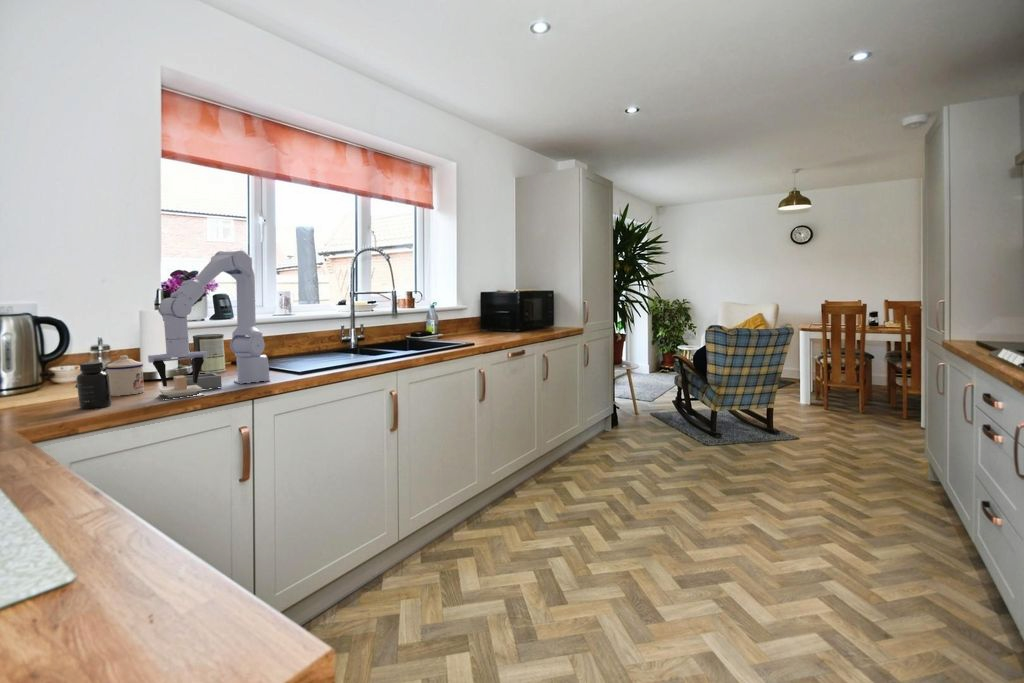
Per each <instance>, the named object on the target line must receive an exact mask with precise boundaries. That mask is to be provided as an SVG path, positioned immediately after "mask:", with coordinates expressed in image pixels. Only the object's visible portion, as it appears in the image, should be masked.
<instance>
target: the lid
mask: <svg viewBox="0 0 1024 683" xmlns="http://www.w3.org/2000/svg"><path fill="white" fill-rule="evenodd" d="M185 376H186V375H184V374H183V375H174V376H172V378H173V386H172V387H164V388H159V390H158V392H160V394H163V395H166V396H167V397H176V396H185V395H193V394H197V391H199V392H202V391H203V390H202V388H201V387H199V386H198V385H189V386H187V381H186V377H185Z"/></svg>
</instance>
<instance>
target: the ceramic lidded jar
mask: <svg viewBox="0 0 1024 683" xmlns="http://www.w3.org/2000/svg"><path fill="white" fill-rule="evenodd" d="M105 366H106V367H105V369H106V373H107V374H108V375H109V383H110V392H111V397H120V396H119V395H129V396H131V395H130V394H136V395H138V394H137V393H140V394H142V392H143V393H144V392H145V384H144V374H143V373H144V371H143V367H144V364H143V362H141V361H136V360H134V359H133V358H129V356H128V355H127V354H126V355H125V354H124V355H120V356H119V359H116V360H114V361H113V362H111V363H108V364H106V365H105Z"/></svg>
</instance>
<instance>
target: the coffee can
mask: <svg viewBox="0 0 1024 683" xmlns="http://www.w3.org/2000/svg"><path fill="white" fill-rule="evenodd" d="M224 336H225V335H224V334H222V333H207V334H195V335H192V339H193V340H192V342H193V352H201V351H206V352H207V358H203V359H204V362H203V364H202V366H201V369H200V371H199V374H200V373H205V374H209V373H216V374H218V373H223V372H225V371H226V357H225V341H224V340H225V339H224Z"/></svg>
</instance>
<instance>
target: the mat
mask: <svg viewBox="0 0 1024 683" xmlns="http://www.w3.org/2000/svg"><path fill="white" fill-rule="evenodd" d="M199 393H202V391H197V394H199ZM197 394H193V395H197ZM158 395H159V396H160V397H161V398H162V399H161V398H160V397H159V396H158V397H159V398H160V399H161V400H163V399H164V400H163V401H166V400H165V399H172V400H174V399H173V398H180V397H187V396H193V395H185V396H176V397H167V396H166V395H163V394H162V393H160V394H158ZM180 399H181V398H180Z"/></svg>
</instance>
